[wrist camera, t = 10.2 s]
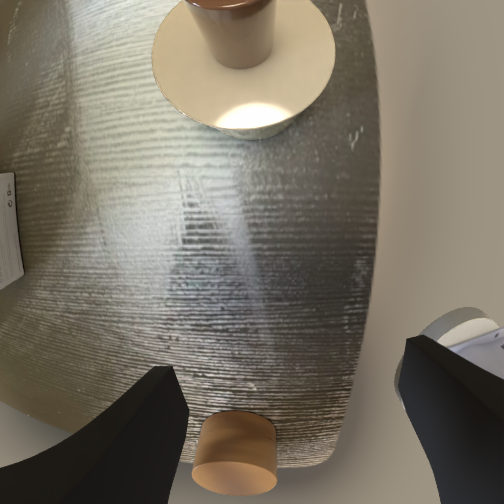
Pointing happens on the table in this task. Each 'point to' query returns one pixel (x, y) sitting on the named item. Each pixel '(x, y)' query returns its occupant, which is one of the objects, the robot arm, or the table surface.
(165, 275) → the table surface
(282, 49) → the lid
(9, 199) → the white product box
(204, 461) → the stand
